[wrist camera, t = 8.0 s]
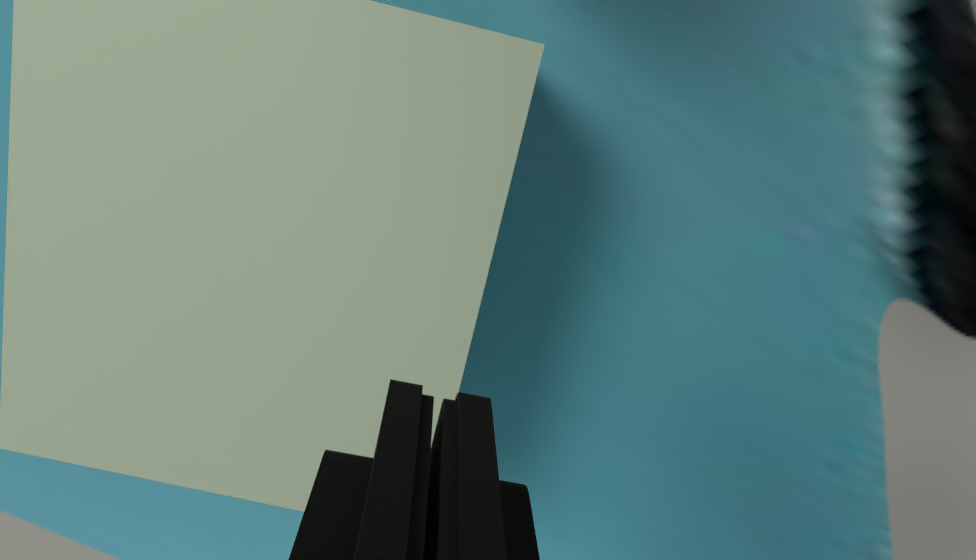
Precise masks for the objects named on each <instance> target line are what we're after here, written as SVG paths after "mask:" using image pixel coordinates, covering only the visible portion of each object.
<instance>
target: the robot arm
mask: <svg viewBox="0 0 976 560" xmlns="http://www.w3.org/2000/svg"><path fill="white" fill-rule="evenodd" d="M422 390H423V385H418V384H413V383H408V382H402V381H397V380H392V379H390V383H389V388H388V393H387V397H386V402H385V407H384V411H383V416H382V421H381V425H380V430H379V434H378V439H377V444H376V448H375V453H374V458H371V457H365V456H359V455H354V454H348V453H342V452H337V451H331V450H325V451H324V454H323V457H322V460H321V463H320V466H319V469H318V472H317V475H316V478H315V481H314V484H313V487H312V490H311V493H310V496H309V499H308V502H307V506H306V509H305V512H304V515H303V518H302V521H301V524H300V527H299V530H298V533H297V536H296V539H295V542H294V545H293V548H292V551H291V554H290V557H289V560H540V559H539V553H538V546H537V540H536V534H535V528H534V522H533V516H532V510H531V504H530V498H529V492H528V489H527V486H525V485H523V484H518V483H512V482H506V481H501V480H499V476H498V466H497V456H496V446H495V436H494V426H493V416H492V406H491V399H490V398H486V397H481V396H476V395H470V394H465V393H460V392H458V393H457V395H456V398H455V400H450V399H445V398H444V399H443V402H442V405H441V409H440V413H439V417H438V421H437V425H436V429H435V433H434V437H433V441H432V446H431V437H432V421H433V405H434V396H429V395H424V394H422Z"/></svg>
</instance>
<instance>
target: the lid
mask: <svg viewBox="0 0 976 560" xmlns="http://www.w3.org/2000/svg"><path fill="white" fill-rule="evenodd" d="M544 46H545V44H541V43H537V42H533V41H529V40H525V39H521V38H517V37H513V36H509V35H505V34H501V33H497V32H494V31H490V30H486V29H482V28H478V27H474V26H470V25H466V24H462V23H458V22H454V21H450V20H446V19H442V18H438V17H434V16H430V15H426V14H422V13H418V12H415V11H411V10H407V9H403V8H399V7H395V6H391V5H387V4H383V3H379V2H375V1H371V0H14V8H13V39H12V69H11V99H10V130H9V160H8V190H7V221H6V251H5V282H4V312H3V342H2V373H1V403H0V448H1V449H5V450H10V451H15V452H20V453H25V454H29V455H34V456H39V457H44V458H49V459H53V460H58V461H63V462H68V463H73V464H77V465H82V466H87V467H92V468H97V469H101V470H106V471H111V472H116V473H121V474H125V475H130V476H135V477H140V478H145V479H149V480H154V481H159V482H164V483H169V484H173V485H178V486H183V487H188V488H193V489H197V490H202V491H207V492H212V493H216V494H221V495H226V496H231V497H236V498H240V499H245V500H250V501H255V502H260V503H264V504H269V505H274V506H279V507H284V508H288V509H293V510H298V511H303V512H305V509H306V506H307V502H308V499H309V496H310V493H311V490H312V487H313V484H314V481H315V478H316V475H317V472H318V469H319V466H320V463H321V460H322V457H323V454H324V451H325V450H331V451H337V452H342V453H348V454H354V455H359V456H365V457H371V458H374V453H375V448H376V444H377V439H378V434H379V430H380V425H381V421H382V416H383V411H384V407H385V402H386V397H387V393H388V388H389V383H390V379H392V380H397V381H402V382H408V383H413V384H418V385H423V390H422V394H424V395H429V396H434V405H433V421H432V437H431V446H432V441H433V437H434V433H435V429H436V425H437V421H438V417H439V413H440V409H441V405H442V402H443V399H444V398H445V399H450V400H455V398H456V395H457V393H458V392H459V388H460V384H461V380H462V376H463V372H464V368H465V364H466V360H467V356H468V352H469V348H470V344H471V340H472V336H473V332H474V328H475V324H476V320H477V316H478V312H479V308H480V304H481V300H482V296H483V292H484V288H485V284H486V279H487V275H488V271H489V267H490V263H491V259H492V255H493V251H494V247H495V243H496V239H497V235H498V231H499V227H500V223H501V219H502V215H503V211H504V207H505V203H506V199H507V195H508V191H509V187H510V183H511V179H512V175H513V171H514V167H515V163H516V159H517V155H518V151H519V147H520V142H521V138H522V134H523V130H524V126H525V122H526V118H527V114H528V110H529V106H530V102H531V98H532V94H533V90H534V86H535V82H536V78H537V74H538V70H539V66H540V62H541V58H542V54H543V50H544Z"/></svg>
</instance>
